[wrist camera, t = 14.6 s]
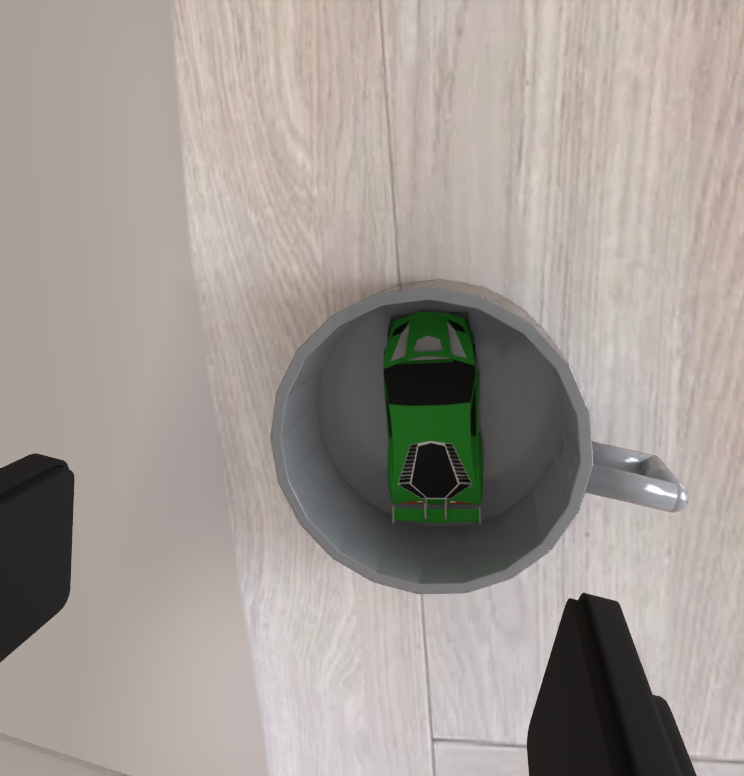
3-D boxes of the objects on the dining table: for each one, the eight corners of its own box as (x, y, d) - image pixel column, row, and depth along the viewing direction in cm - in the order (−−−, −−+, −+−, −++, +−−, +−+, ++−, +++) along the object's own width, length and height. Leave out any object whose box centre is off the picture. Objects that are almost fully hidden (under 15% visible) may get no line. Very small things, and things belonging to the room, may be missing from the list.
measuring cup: (296, 497, 32) (254, 550, 27) (332, 257, 29) (293, 260, 23) (617, 577, 30) (647, 656, 24) (697, 326, 26) (754, 347, 21)
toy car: (380, 313, 29) (371, 318, 26) (479, 307, 28) (478, 312, 25) (394, 505, 31) (387, 524, 29) (486, 506, 30) (486, 526, 28)
